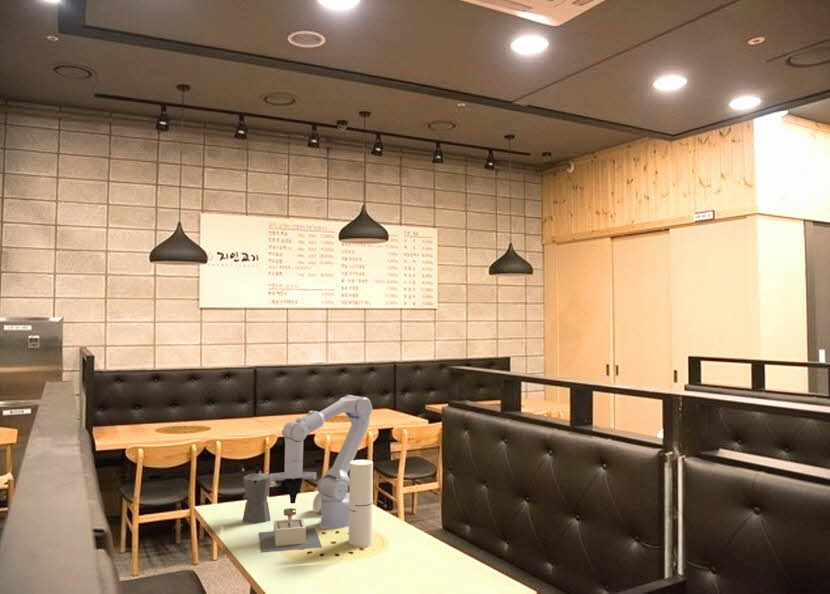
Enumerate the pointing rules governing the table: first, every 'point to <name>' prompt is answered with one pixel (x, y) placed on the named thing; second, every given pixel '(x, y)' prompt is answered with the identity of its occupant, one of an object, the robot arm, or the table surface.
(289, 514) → the plunger
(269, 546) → the mat
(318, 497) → the spread jar
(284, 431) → the robot arm
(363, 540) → the cylindrical container
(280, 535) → the press
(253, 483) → the coffeepot
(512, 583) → the table surface
